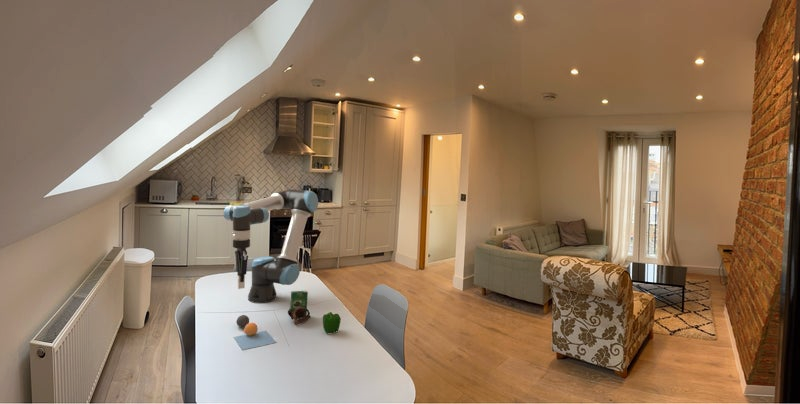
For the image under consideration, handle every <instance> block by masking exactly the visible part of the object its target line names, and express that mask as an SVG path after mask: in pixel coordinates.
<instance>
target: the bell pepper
mask: <svg viewBox="0 0 800 404" xmlns="http://www.w3.org/2000/svg"><path fill="white" fill-rule="evenodd" d="M341 320H342V319H341V316H340V314H339V313H333V312H332V311H329V312H328V313H326V314H323V316H322V325H323V327H322V328H323V330H324V332H325V333H326V334H328V333H333V334H335V333H337V332H338V331H339V329H340V325H341ZM336 331H337V332H336Z"/></svg>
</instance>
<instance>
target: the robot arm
mask: <svg viewBox="0 0 800 404" xmlns="http://www.w3.org/2000/svg"><path fill="white" fill-rule="evenodd" d="M318 208H319V199H318V195H317V194H316V193H315V192H314V191H311V190H308V189H307V190H304V189H287V190H282V191H277V192H274V193H272V194H271V195H270V196H268V197H264V198H260V199H256V200H253V201H249V202H245V203H243V204H238V205H227V206H225V208H224V210H223V217H224V218H225V220H227V221H231V222H232V232H231V235H232V238H233V240H232V247H233V248H234V249H236V250H235V251H234V254H235V267H236V269H235V270H236V273H237V274H236V275H237V289H239V290H240V289H245V285H246V284H245V278H246V275H247V269H248V259H249V255H248V251H247V249H248V248H250V246H251V225H257V224H263V223H266V222H267V221H268V220H269V218H270V213H269V212H270V211H272V210H273V211H274V210H278V211H279V210H281V209H282V210H283V209H285V210H286V209H287V210H290V212H291V217H290V222H289V225H288V228H287V232H286V235H285V237H284V241H283V245H282V248H281V252H280V254H279V255H277V256H276V259H275V257H274V256H263V257H258V258H254V259H253V260H252V263H251V286H250V289H249V292H248V295H247V300H248V301H249V302H252V303H257V304H259V303H260V304H261V303H270V302H273V301H275V300H277V298H278V296H277V295H278V294H277V290H276V287H275V285H274V284H279V285H283V286H284V285H285V286H291V285H292V284H294V283H295V282H296V281H297V280H298V278H299V277H300V272H301V271H300V266H299V265H298V263H299V262H298V260H297V256H298V253H299V249H300V245H301V242H302V238H303V234H304V230H305V227H306V224H307V221H308V218H310V217H311V216H312V213H314V212H316V211H317V209H318Z"/></svg>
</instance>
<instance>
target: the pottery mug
mask: <svg viewBox="0 0 800 404" xmlns="http://www.w3.org/2000/svg"><path fill="white" fill-rule="evenodd" d="M296 311H297V312H296ZM305 311H307V315H306V314H304V313H305ZM287 314H288V316H289V318H290V317H291V318H290V319H291V320H292V321H293V320H294V322H293V325H294V326H296V325H297V326H298V325H301V324H304V323H307V322H308V321H309V320H310V319H311V315H310V314H311V312H310V311H309V309H308V308H307V309H306V308H304V307H300V308H297V309H296V310H294V309H290V308H289V309H288V310H287ZM297 318H298V319H297Z"/></svg>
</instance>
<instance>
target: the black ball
mask: <svg viewBox="0 0 800 404" xmlns="http://www.w3.org/2000/svg"><path fill="white" fill-rule="evenodd" d="M235 322H236V325H237V326H238V328H245V326H246V325H247V324H248V323H250V317H248V316H247V315H245V314H242V315H239V316H238V317H237V319H236V321H235Z"/></svg>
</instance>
